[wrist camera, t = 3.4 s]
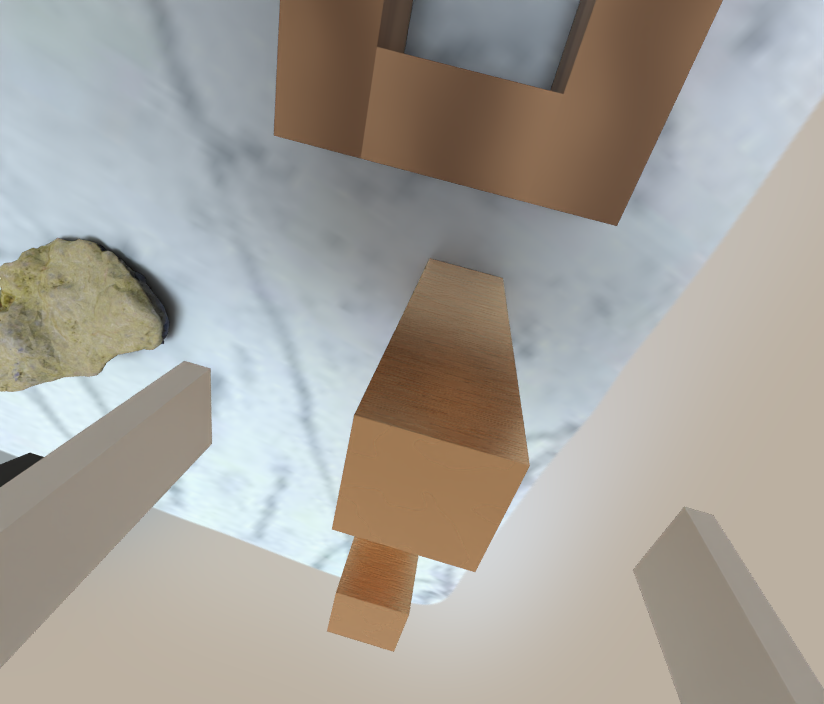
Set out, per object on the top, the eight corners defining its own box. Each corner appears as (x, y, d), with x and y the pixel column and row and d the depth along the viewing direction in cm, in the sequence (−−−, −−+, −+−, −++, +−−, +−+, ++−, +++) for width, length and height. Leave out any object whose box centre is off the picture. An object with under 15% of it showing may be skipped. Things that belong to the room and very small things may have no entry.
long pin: (413, 324, 23) (331, 529, 11) (429, 258, 21) (353, 415, 9) (479, 343, 23) (474, 572, 11) (502, 278, 21) (529, 465, 9)
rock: (200, 289, 26) (31, 190, 23) (139, 341, 20) (-90, 222, 17) (151, 389, 31) (8, 319, 28) (93, 452, 25) (-91, 374, 22)
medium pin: (367, 506, 31) (327, 631, 23) (376, 470, 29) (335, 592, 21) (416, 521, 31) (393, 651, 23) (429, 485, 29) (408, 614, 21)
